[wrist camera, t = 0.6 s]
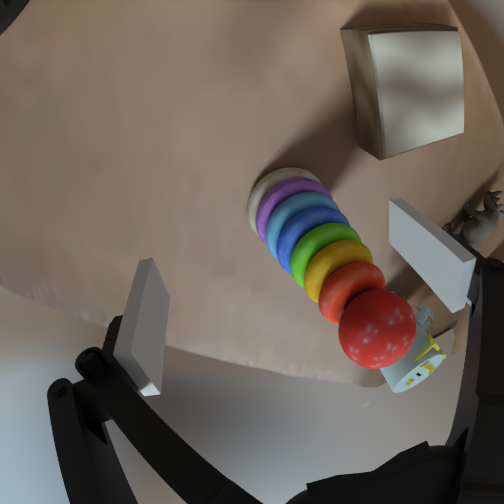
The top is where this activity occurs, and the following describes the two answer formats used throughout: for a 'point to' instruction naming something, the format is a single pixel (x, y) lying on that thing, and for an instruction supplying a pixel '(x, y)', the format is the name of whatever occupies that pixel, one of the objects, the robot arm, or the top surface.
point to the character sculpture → (416, 356)
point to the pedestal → (405, 85)
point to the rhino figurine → (480, 220)
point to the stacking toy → (331, 265)
